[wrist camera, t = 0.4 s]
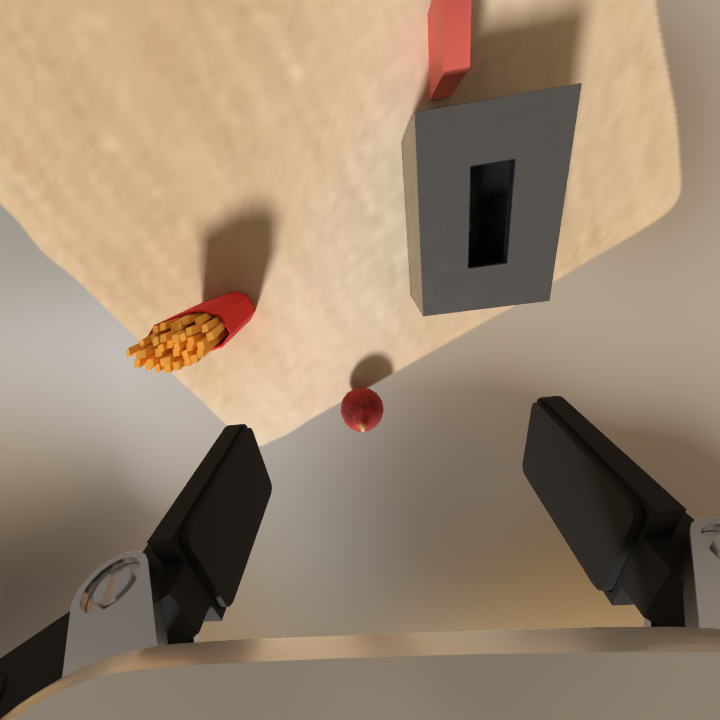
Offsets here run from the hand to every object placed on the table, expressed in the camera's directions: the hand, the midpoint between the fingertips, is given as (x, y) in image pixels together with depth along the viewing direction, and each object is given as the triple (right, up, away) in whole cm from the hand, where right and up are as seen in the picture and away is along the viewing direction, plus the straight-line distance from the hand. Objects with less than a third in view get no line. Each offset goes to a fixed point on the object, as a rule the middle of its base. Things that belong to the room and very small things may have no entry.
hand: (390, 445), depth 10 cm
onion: (-1, -2, +34) cm, 34 cm away
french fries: (-19, +9, +28) cm, 35 cm away
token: (+6, +31, +17) cm, 36 cm away
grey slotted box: (+10, +19, +23) cm, 32 cm away
